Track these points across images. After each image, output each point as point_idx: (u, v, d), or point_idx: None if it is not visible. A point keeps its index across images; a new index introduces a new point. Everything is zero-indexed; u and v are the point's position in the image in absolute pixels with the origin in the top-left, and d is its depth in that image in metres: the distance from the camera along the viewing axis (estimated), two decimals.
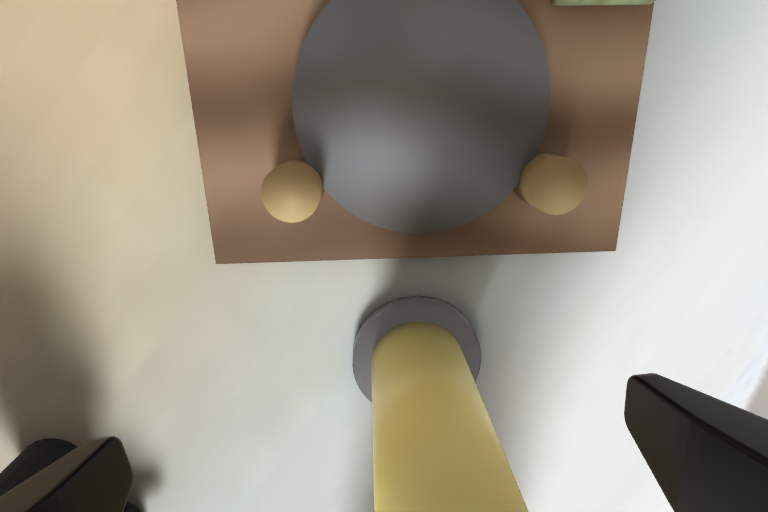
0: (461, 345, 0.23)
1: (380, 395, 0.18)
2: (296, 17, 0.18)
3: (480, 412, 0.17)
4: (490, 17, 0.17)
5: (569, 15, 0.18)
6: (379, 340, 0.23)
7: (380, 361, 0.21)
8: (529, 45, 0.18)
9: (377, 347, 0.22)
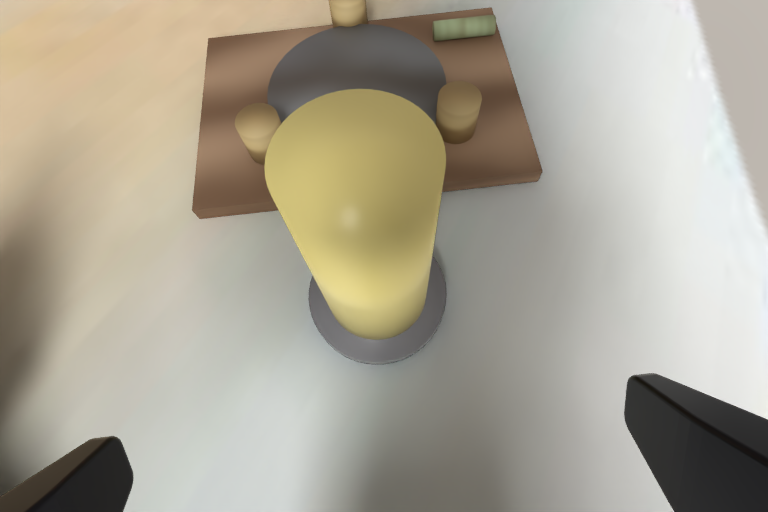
0: None
1: None
2: (276, 64, 0.29)
3: None
4: (394, 41, 0.28)
5: (448, 46, 0.29)
6: None
7: None
8: (422, 50, 0.27)
9: None
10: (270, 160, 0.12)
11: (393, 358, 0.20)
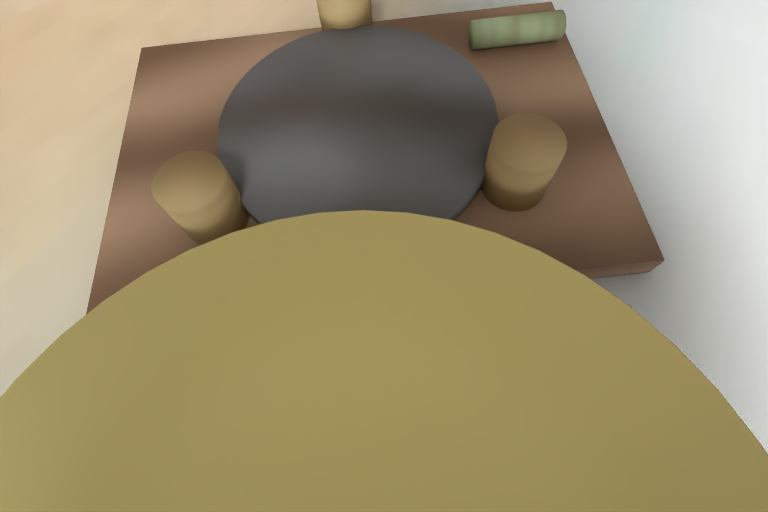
0: None
1: None
2: None
3: None
4: (413, 50, 0.18)
5: (493, 57, 0.19)
6: None
7: None
8: (456, 63, 0.18)
9: None
10: None
11: None
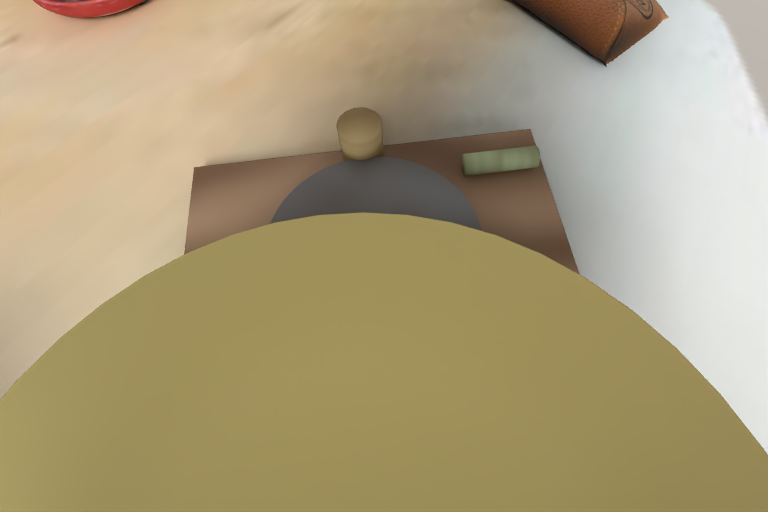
0: None
1: None
2: (275, 204, 0.24)
3: None
4: (417, 182, 0.23)
5: (481, 182, 0.24)
6: None
7: None
8: (452, 194, 0.22)
9: None
10: None
11: None
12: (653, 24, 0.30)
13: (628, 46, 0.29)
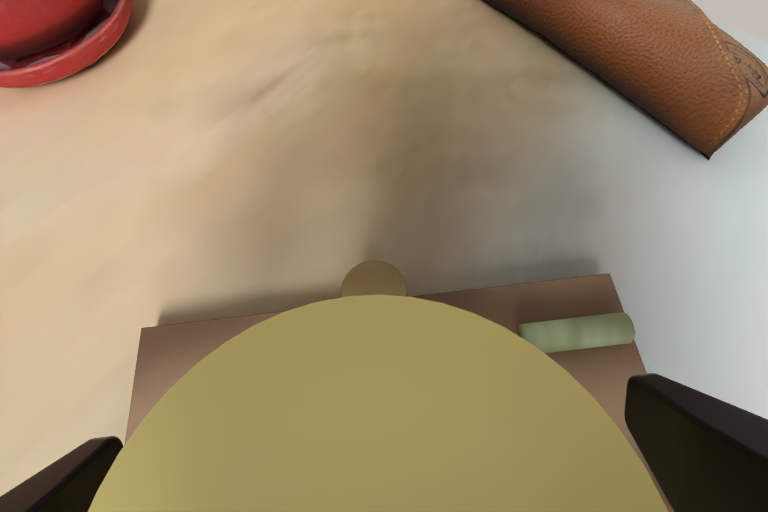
0: None
1: None
2: None
3: None
4: None
5: None
6: None
7: None
8: None
9: None
10: None
11: None
12: (767, 101, 0.23)
13: (736, 131, 0.22)
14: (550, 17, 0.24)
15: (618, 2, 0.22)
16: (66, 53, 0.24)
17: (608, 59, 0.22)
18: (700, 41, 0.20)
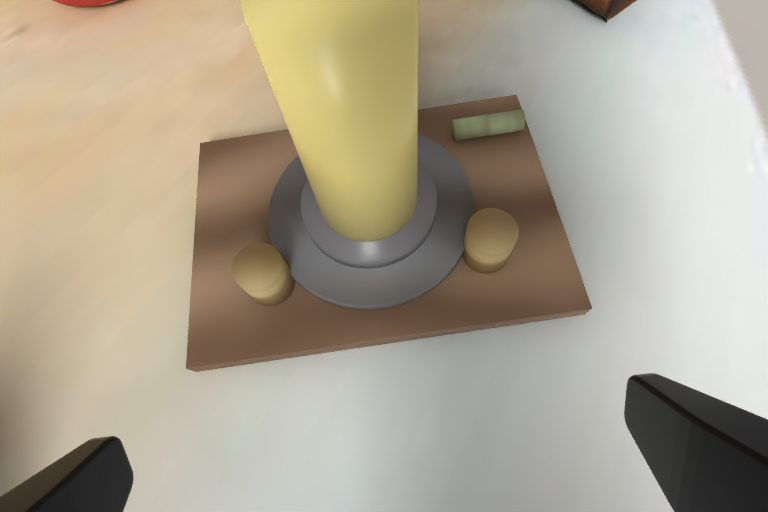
0: None
1: None
2: (277, 174, 0.25)
3: None
4: None
5: (470, 146, 0.25)
6: None
7: None
8: (442, 157, 0.24)
9: None
10: None
11: (385, 258, 0.21)
12: None
13: (629, 3, 0.31)
14: None
15: None
16: None
17: None
18: None
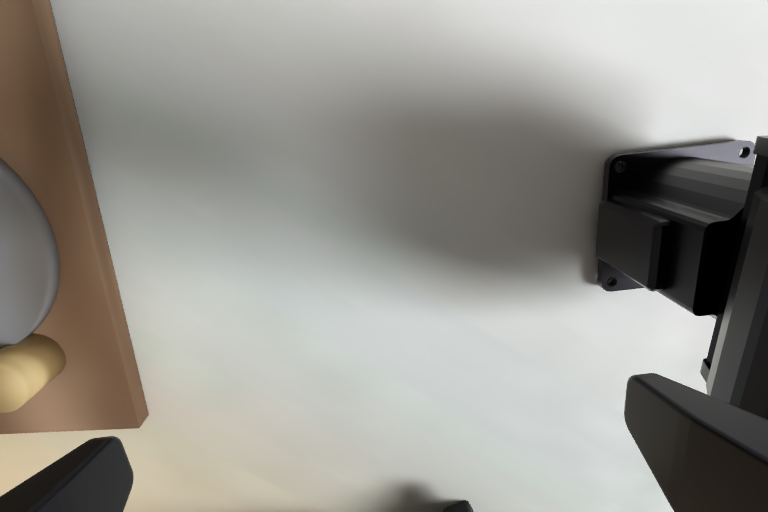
0: None
1: None
2: None
3: None
4: None
5: None
6: None
7: None
8: None
9: None
10: None
11: None
12: None
13: None
14: None
15: None
16: None
17: None
18: None
